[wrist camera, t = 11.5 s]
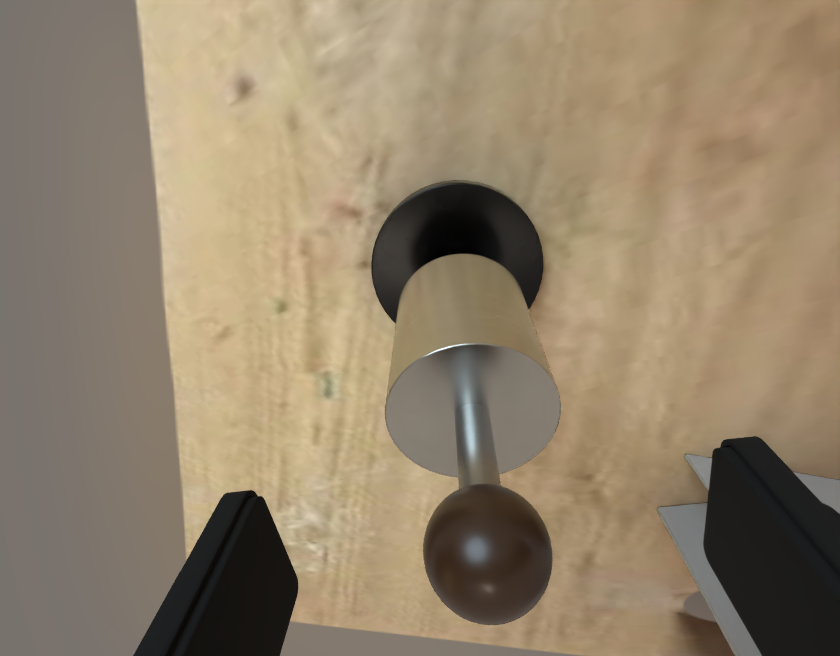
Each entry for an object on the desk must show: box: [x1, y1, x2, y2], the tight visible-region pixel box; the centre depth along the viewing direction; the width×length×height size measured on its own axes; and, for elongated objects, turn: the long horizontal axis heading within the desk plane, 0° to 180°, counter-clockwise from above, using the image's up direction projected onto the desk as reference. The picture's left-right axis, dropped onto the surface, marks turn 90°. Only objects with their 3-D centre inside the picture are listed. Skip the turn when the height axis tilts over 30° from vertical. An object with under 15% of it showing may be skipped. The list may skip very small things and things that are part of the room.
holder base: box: [372, 180, 543, 323], centre depth 26 cm, size 10×10×5 cm
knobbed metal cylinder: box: [385, 254, 561, 625], centre depth 18 cm, size 17×6×6 cm
